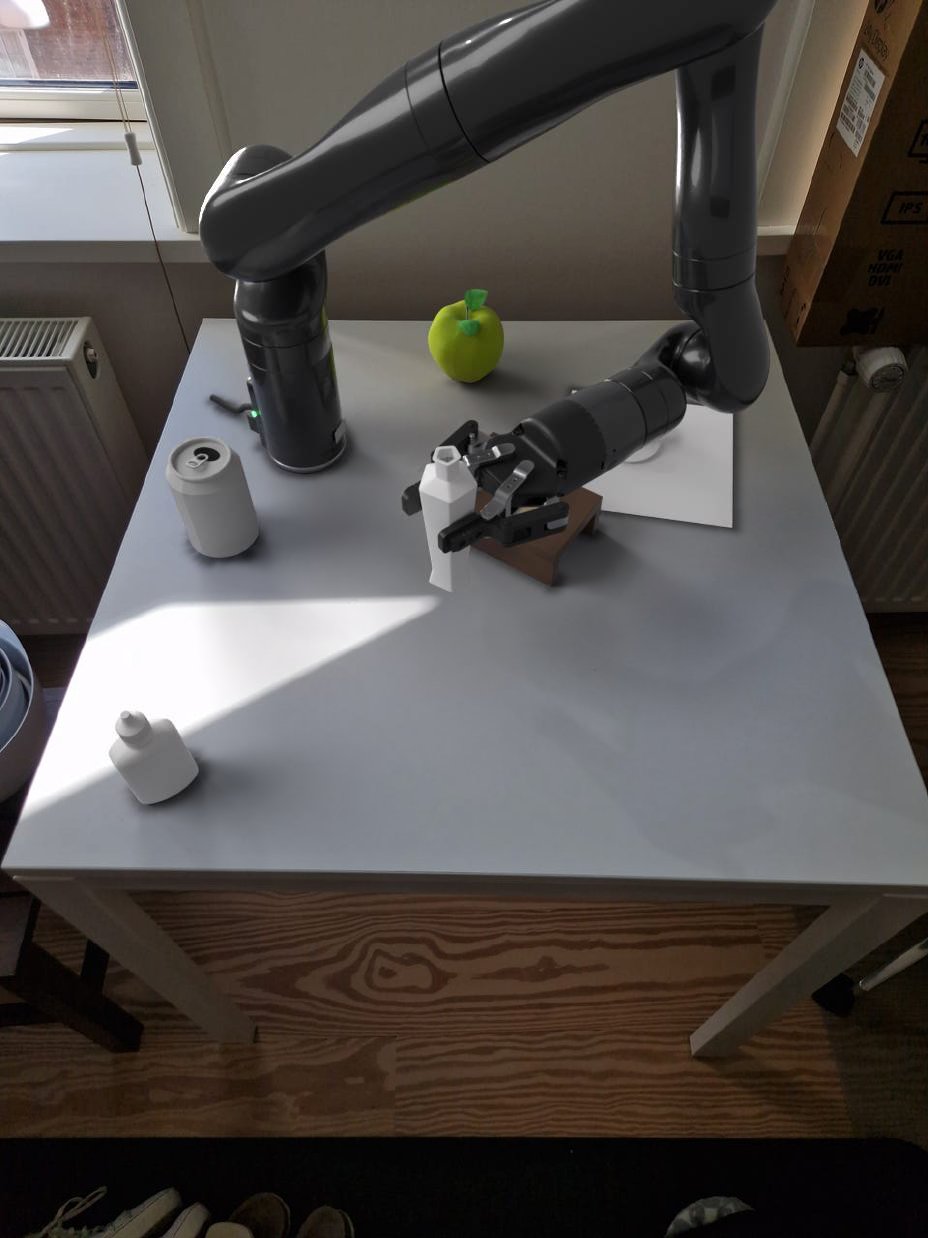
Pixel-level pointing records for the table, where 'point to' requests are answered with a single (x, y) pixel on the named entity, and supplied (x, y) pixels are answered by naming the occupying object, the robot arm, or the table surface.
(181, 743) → the eye dropper bottle
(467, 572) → the white faceted vase
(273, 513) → the table surface
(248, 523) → the can
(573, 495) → the wooden display stand
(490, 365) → the fruit
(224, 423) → the table surface
